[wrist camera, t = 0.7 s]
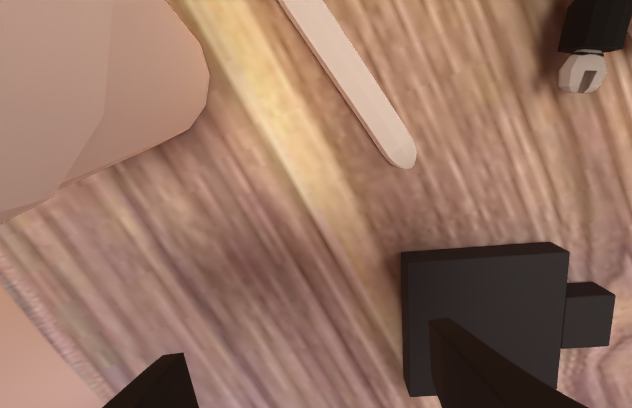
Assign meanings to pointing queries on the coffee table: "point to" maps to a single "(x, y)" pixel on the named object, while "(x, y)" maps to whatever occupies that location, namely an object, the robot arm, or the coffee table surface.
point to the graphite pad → (500, 306)
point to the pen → (352, 79)
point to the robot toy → (591, 41)
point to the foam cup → (89, 90)
